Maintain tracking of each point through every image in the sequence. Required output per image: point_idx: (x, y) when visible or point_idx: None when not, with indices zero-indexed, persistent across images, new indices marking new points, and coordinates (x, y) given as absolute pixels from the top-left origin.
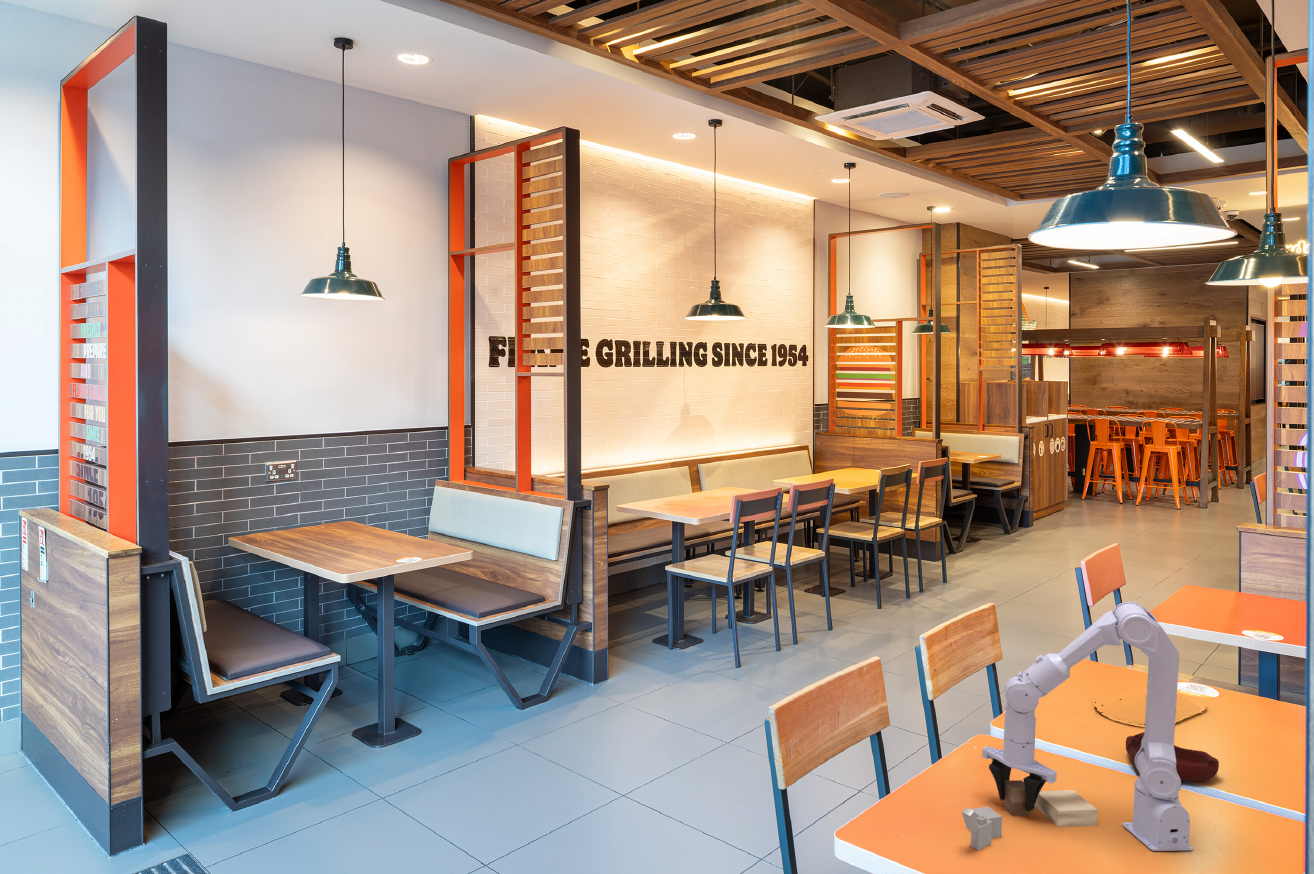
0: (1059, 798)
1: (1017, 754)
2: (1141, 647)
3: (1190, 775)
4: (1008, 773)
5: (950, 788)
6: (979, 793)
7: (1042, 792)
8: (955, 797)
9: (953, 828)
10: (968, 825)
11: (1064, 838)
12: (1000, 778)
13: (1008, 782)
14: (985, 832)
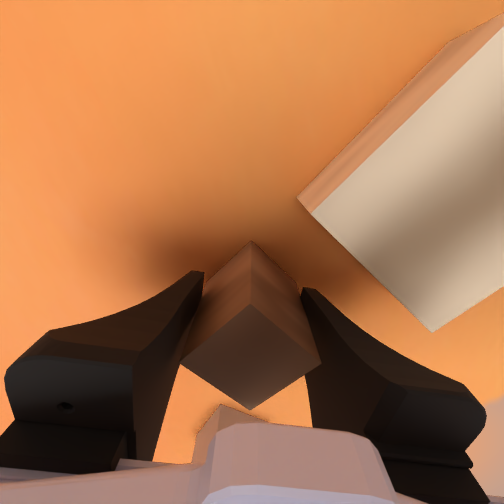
0: (436, 211)
1: None
2: None
3: None
4: (166, 345)
5: (3, 278)
6: (90, 243)
7: (343, 201)
8: (63, 324)
9: (169, 449)
10: None
11: (417, 343)
12: (165, 410)
13: (204, 371)
14: None
